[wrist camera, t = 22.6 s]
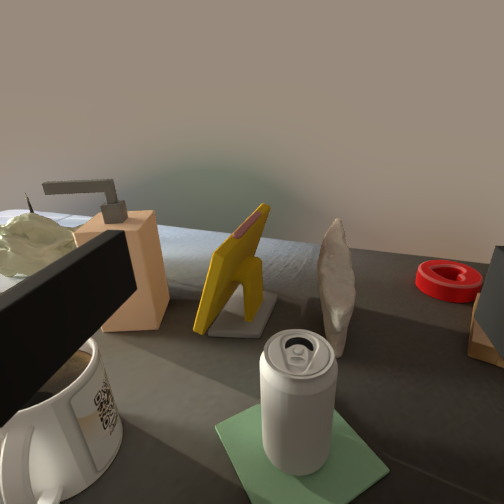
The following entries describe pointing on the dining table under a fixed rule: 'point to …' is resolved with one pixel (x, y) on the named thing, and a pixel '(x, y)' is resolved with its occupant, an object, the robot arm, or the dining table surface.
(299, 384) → the beverage can
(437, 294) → the decorative ornament
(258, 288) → the yellow framed monitor
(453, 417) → the dining table surface
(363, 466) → the mat
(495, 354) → the can stand
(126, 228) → the soap dispenser
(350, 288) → the sculpture
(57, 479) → the mug
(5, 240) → the wavy plaster lump
